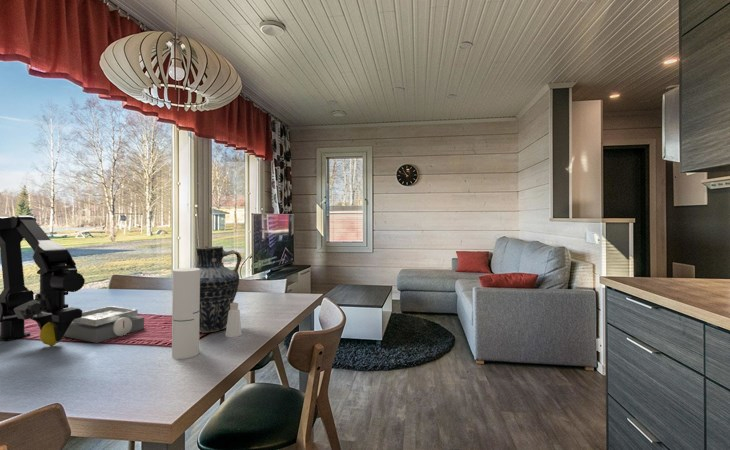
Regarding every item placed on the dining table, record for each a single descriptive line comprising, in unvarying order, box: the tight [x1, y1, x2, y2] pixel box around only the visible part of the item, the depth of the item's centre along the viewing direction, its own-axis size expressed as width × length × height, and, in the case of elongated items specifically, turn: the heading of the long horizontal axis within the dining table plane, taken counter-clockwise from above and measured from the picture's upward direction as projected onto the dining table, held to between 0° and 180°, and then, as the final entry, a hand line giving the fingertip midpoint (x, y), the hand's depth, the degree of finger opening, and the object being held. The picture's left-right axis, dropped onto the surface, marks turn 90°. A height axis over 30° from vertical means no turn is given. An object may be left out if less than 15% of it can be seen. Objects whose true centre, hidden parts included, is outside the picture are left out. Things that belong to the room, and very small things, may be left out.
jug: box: [194, 245, 243, 333], centre depth 126 cm, size 21×19×30 cm
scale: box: [63, 315, 145, 344], centre depth 120 cm, size 19×16×6 cm
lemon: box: [39, 323, 63, 347], centre depth 107 cm, size 6×6×8 cm
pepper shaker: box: [225, 302, 242, 338], centre depth 120 cm, size 5×5×11 cm
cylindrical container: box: [171, 267, 200, 360], centre depth 102 cm, size 7×7×25 cm
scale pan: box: [72, 305, 139, 326], centre depth 121 cm, size 14×14×2 cm
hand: (52, 339), depth 107 cm, fingers closed on lemon, 5 cm apart
